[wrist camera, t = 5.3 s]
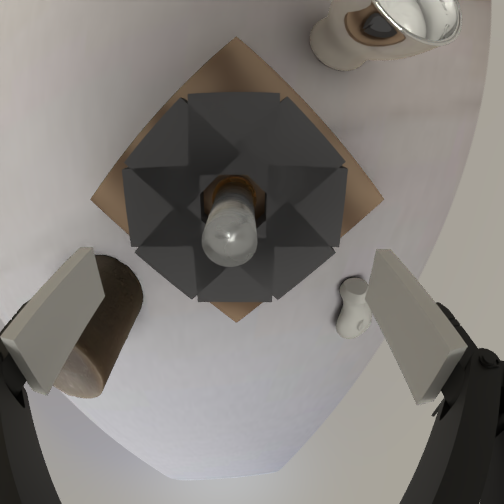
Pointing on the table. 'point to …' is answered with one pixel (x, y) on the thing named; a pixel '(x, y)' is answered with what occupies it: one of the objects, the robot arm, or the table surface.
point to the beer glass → (383, 30)
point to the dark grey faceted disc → (235, 163)
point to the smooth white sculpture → (353, 309)
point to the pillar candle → (102, 332)
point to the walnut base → (241, 80)
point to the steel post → (231, 223)
